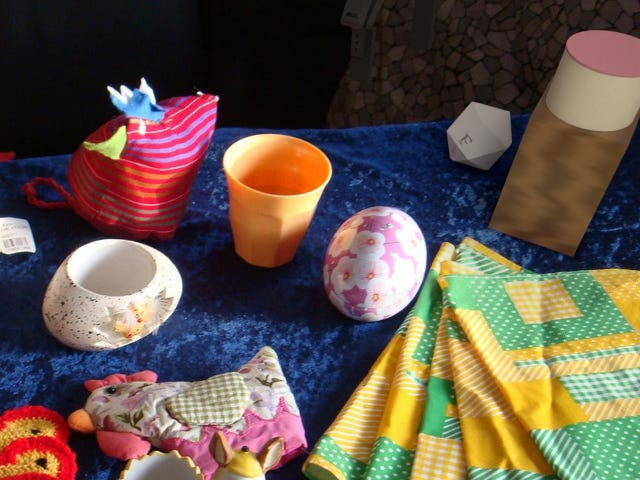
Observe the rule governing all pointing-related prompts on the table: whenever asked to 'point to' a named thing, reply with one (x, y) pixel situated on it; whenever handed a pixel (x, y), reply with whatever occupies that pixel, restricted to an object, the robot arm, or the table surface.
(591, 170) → the brown piece
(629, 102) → the yogurt
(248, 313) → the table surface
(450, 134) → the die
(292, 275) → the table surface
